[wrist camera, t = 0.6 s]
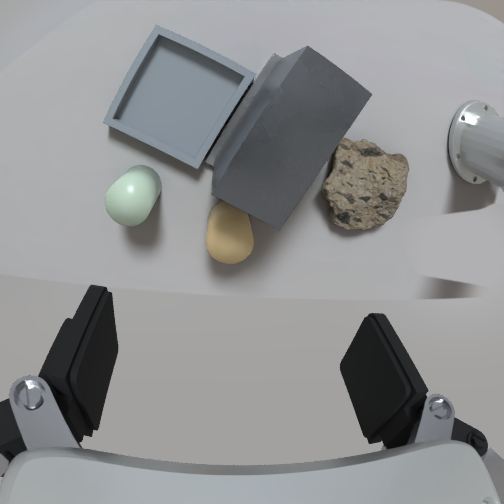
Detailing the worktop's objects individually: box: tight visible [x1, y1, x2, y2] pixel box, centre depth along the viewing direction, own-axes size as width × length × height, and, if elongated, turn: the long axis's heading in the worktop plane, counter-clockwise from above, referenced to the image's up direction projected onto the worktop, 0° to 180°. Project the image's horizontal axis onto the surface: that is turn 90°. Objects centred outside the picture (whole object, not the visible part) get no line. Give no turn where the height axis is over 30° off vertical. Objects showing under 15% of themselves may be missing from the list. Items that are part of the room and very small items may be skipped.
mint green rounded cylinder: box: [105, 165, 161, 226], centre depth 30 cm, size 5×5×6 cm
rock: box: [322, 138, 409, 230], centre depth 34 cm, size 11×11×4 cm
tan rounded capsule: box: [206, 201, 254, 264], centre depth 34 cm, size 5×5×6 cm
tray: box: [103, 25, 256, 169], centre depth 28 cm, size 12×12×2 cm
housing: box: [205, 46, 372, 230], centre depth 26 cm, size 8×14×12 cm, turn 148°
